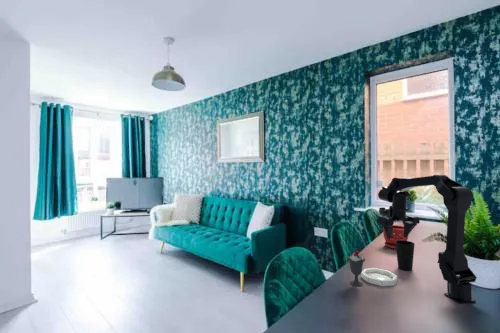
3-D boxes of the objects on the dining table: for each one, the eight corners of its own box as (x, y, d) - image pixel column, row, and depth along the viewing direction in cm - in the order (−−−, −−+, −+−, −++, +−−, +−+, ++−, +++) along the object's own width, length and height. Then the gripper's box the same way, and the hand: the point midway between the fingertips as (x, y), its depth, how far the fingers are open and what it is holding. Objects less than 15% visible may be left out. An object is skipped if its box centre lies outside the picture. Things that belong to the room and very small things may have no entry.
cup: (417, 272, 117) (417, 245, 117) (399, 271, 118) (398, 244, 118) (410, 265, 124) (410, 240, 124) (393, 264, 126) (392, 239, 126)
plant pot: (413, 250, 147) (413, 228, 147) (390, 250, 147) (390, 229, 147) (400, 243, 160) (400, 224, 160) (379, 243, 160) (378, 224, 160)
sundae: (354, 288, 102) (354, 249, 102) (344, 281, 109) (343, 245, 109) (369, 286, 104) (368, 248, 104) (358, 279, 110) (357, 243, 110)
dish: (403, 284, 105) (403, 279, 105) (373, 286, 103) (373, 281, 103) (384, 272, 118) (383, 267, 118) (356, 273, 116) (356, 269, 116)
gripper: (401, 200, 129) (399, 231, 130) (369, 201, 124) (367, 233, 126) (421, 205, 118) (419, 239, 120) (387, 207, 113) (385, 242, 115)
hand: (397, 238), depth 120 cm, fingers open, 9 cm apart
